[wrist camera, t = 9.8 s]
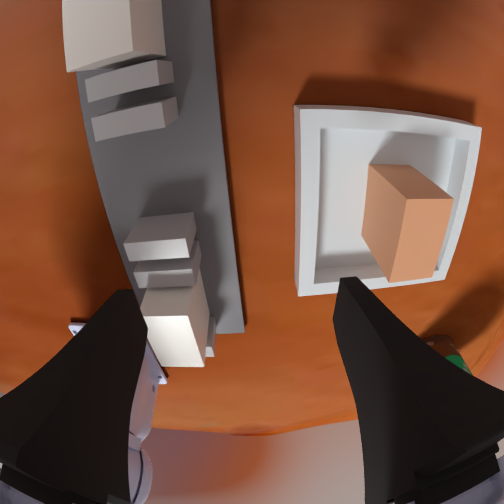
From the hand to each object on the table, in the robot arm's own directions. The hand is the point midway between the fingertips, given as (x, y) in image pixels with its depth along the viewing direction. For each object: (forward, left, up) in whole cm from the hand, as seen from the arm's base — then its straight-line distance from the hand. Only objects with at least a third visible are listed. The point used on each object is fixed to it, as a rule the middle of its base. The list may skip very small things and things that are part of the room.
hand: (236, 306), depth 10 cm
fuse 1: (+11, +5, -9) cm, 15 cm away
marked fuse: (-1, -9, -9) cm, 13 cm away
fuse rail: (+2, +5, -9) cm, 11 cm away
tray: (-1, -9, -9) cm, 13 cm away
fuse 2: (-7, +5, -9) cm, 12 cm away
